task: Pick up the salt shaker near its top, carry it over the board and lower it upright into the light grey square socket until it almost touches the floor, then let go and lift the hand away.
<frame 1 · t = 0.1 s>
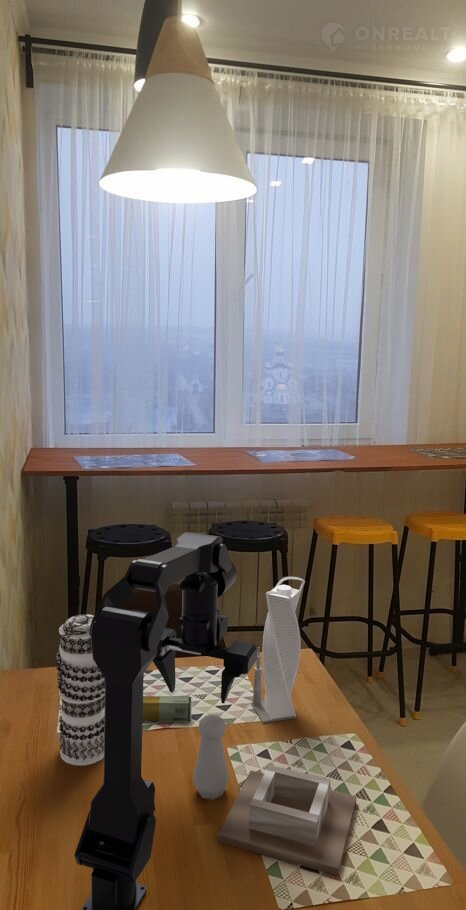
hand: (197, 696, 113), 15 cm above the table, tool pointing down, fingers open, 9 cm apart
skyscraper: (277, 712, 136), on the table
decorative candle: (84, 751, 121), on the table
socket board: (289, 821, 105), on the table
salt shaker: (210, 792, 112), on the table
medication box: (160, 718, 133), on the table
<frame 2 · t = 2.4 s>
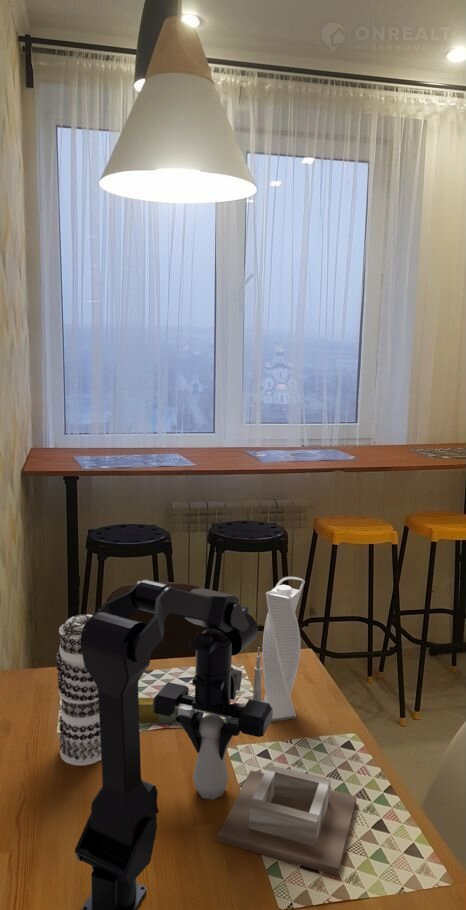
hand: (211, 755, 110), 7 cm above the table, tool pointing down, fingers closed on salt shaker, 3 cm apart
salt shaker: (210, 792, 112), on the table, touching gripper
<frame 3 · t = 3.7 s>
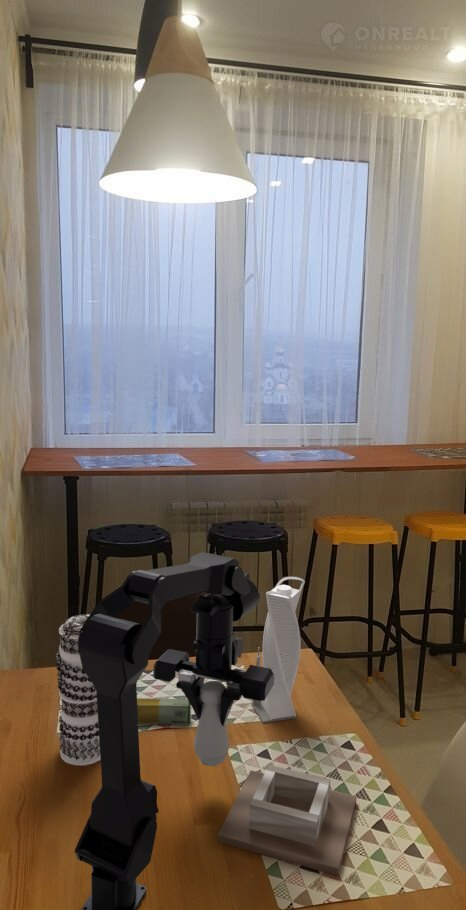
hand: (212, 722, 109), 12 cm above the table, tool pointing down, fingers closed on salt shaker, 3 cm apart
salt shaker: (211, 759, 111), point 6 cm above the table, touching gripper
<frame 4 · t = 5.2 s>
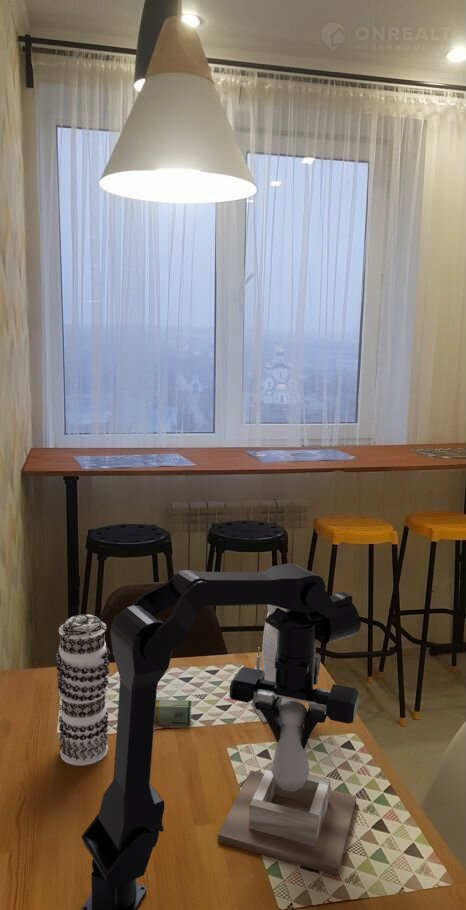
hand: (291, 744, 103), 13 cm above the table, tool pointing down, fingers closed on salt shaker, 3 cm apart
salt shaker: (289, 784, 104), point 6 cm above the table, touching gripper
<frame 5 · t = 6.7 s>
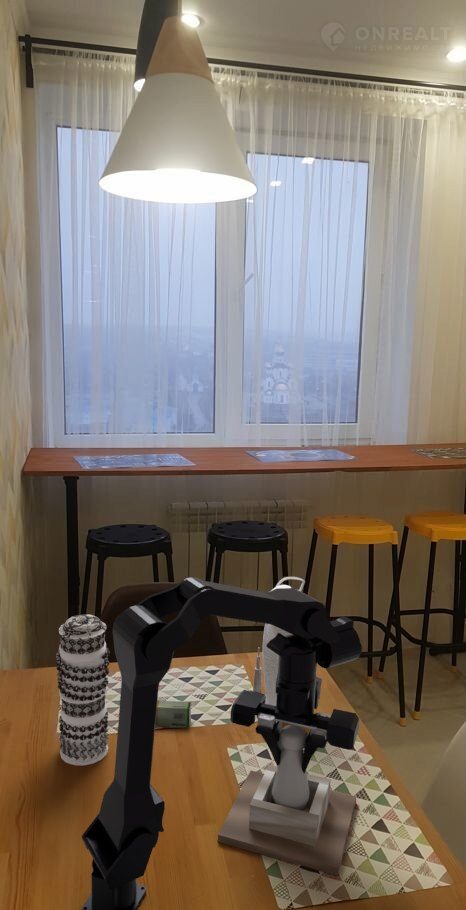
hand: (291, 768, 104), 9 cm above the table, tool pointing down, fingers closed on salt shaker, 3 cm apart
salt shaker: (289, 807, 105), point 2 cm above the table, touching gripper
when the fingers open (8 cm above the table, at t = 8.2 s): salt shaker stays where it is, resting on socket board.
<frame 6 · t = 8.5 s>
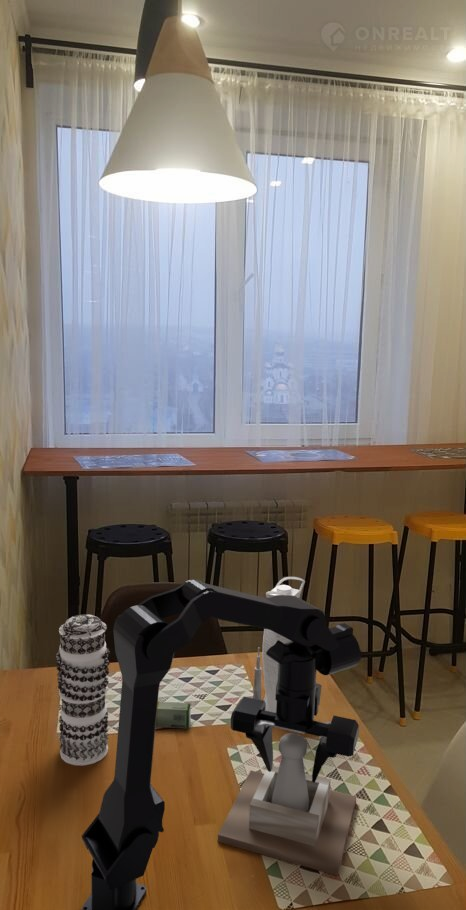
hand: (291, 775, 104), 8 cm above the table, tool pointing down, fingers open, 7 cm apart
salt shaker: (289, 815, 105), point 1 cm above the table, touching socket board
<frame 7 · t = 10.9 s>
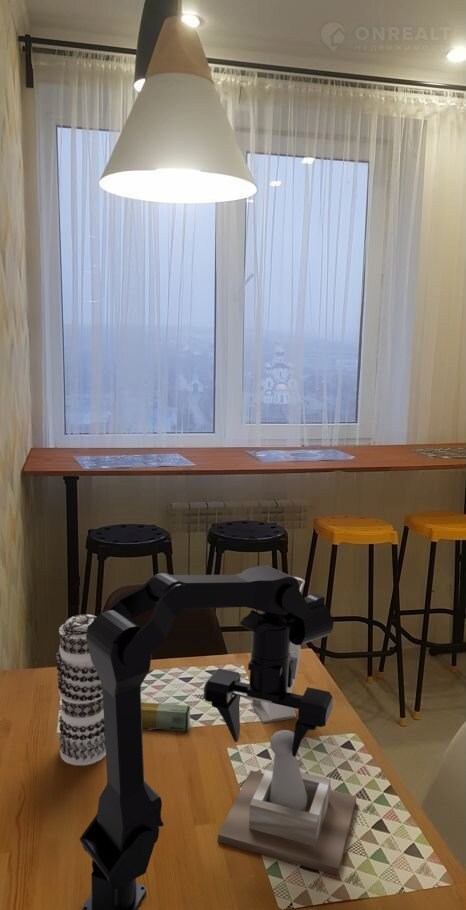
hand: (265, 747, 103), 13 cm above the table, tool pointing down, fingers open, 9 cm apart
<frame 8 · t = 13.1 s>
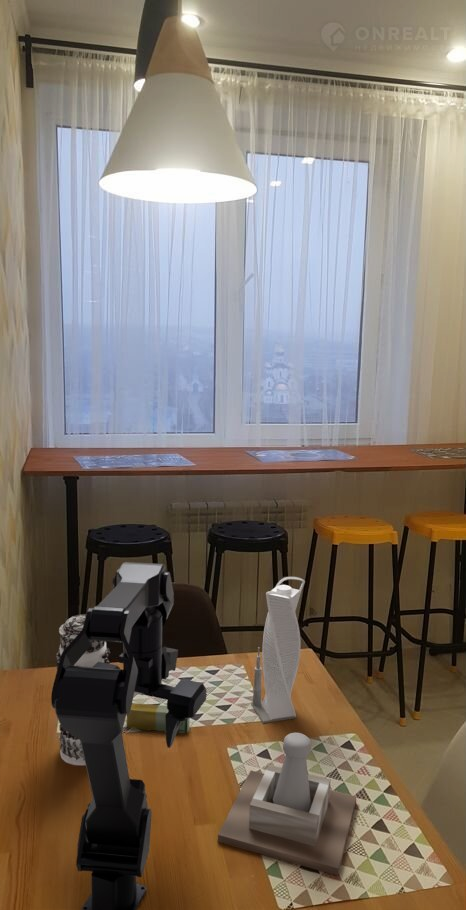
hand: (142, 739, 103), 13 cm above the table, tool pointing down, fingers open, 9 cm apart
at the end: salt shaker 0.1 cm off-centre on the socket board, point 1.1 cm above the socket board's base; salt shaker tilted 2°; the gripper is holding nothing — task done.
